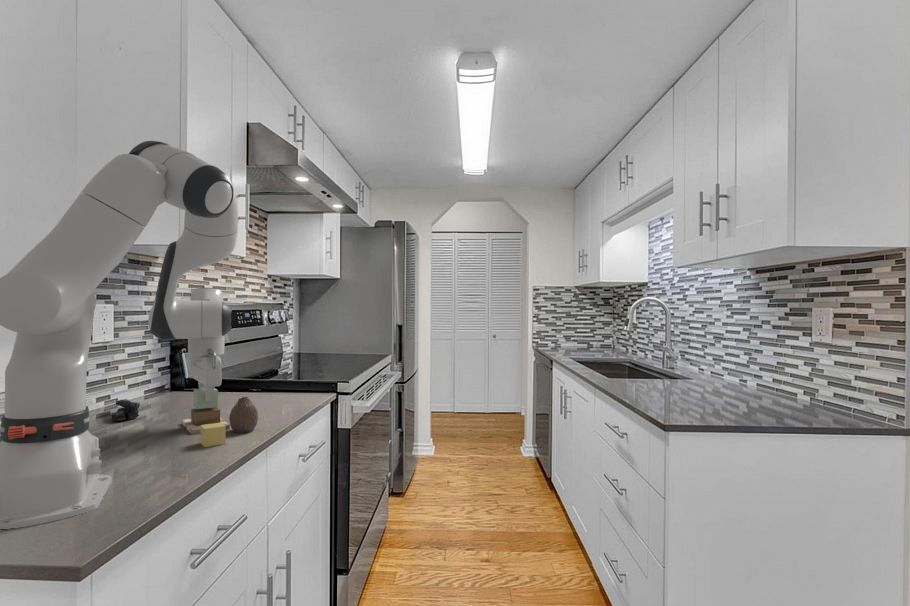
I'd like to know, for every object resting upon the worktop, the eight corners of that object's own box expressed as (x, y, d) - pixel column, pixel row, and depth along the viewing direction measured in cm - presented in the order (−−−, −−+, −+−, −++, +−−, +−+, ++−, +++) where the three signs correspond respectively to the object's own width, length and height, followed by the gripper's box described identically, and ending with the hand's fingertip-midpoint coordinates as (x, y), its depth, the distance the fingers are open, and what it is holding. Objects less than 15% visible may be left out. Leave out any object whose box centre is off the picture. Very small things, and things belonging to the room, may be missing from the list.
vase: (246, 435, 125) (246, 401, 125) (223, 433, 127) (223, 399, 127) (263, 429, 132) (263, 396, 132) (241, 427, 134) (241, 394, 134)
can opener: (142, 420, 141) (142, 401, 141) (112, 424, 137) (112, 404, 137) (133, 410, 155) (134, 392, 155) (106, 413, 151) (106, 394, 151)
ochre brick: (225, 445, 117) (225, 426, 117) (204, 448, 115) (204, 428, 115) (220, 440, 121) (220, 422, 121) (200, 444, 118) (200, 425, 118)
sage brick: (217, 406, 134) (218, 390, 134) (197, 408, 130) (197, 391, 130) (213, 403, 137) (213, 387, 138) (193, 405, 134) (193, 389, 134)
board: (229, 429, 131) (229, 425, 131) (191, 434, 126) (191, 430, 126) (217, 419, 142) (217, 415, 142) (182, 424, 137) (182, 419, 137)
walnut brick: (220, 422, 134) (220, 409, 134) (195, 426, 130) (195, 412, 130) (215, 418, 138) (215, 406, 138) (191, 421, 135) (191, 408, 135)
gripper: (228, 350, 128) (227, 404, 128) (211, 345, 144) (210, 392, 144) (201, 351, 124) (200, 407, 124) (186, 346, 140) (186, 395, 140)
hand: (206, 399), depth 134 cm, fingers closed on sage brick, 5 cm apart
